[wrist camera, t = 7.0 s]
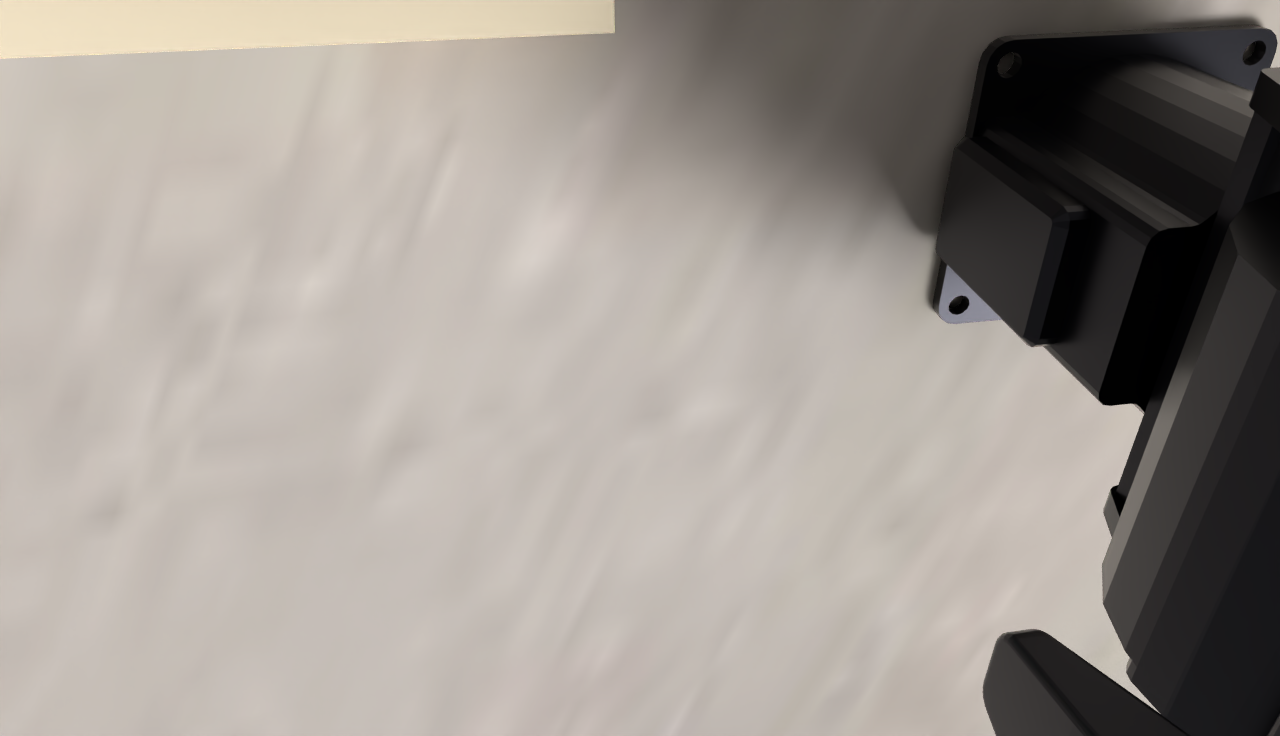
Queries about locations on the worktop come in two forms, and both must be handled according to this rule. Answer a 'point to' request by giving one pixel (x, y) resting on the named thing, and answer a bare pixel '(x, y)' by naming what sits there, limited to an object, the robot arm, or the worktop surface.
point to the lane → (278, 23)
